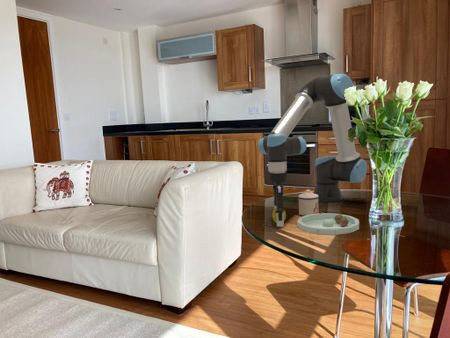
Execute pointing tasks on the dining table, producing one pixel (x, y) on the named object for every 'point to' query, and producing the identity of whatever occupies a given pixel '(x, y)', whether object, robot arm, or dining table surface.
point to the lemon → (276, 215)
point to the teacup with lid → (308, 203)
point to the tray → (326, 224)
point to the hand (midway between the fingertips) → (279, 224)
